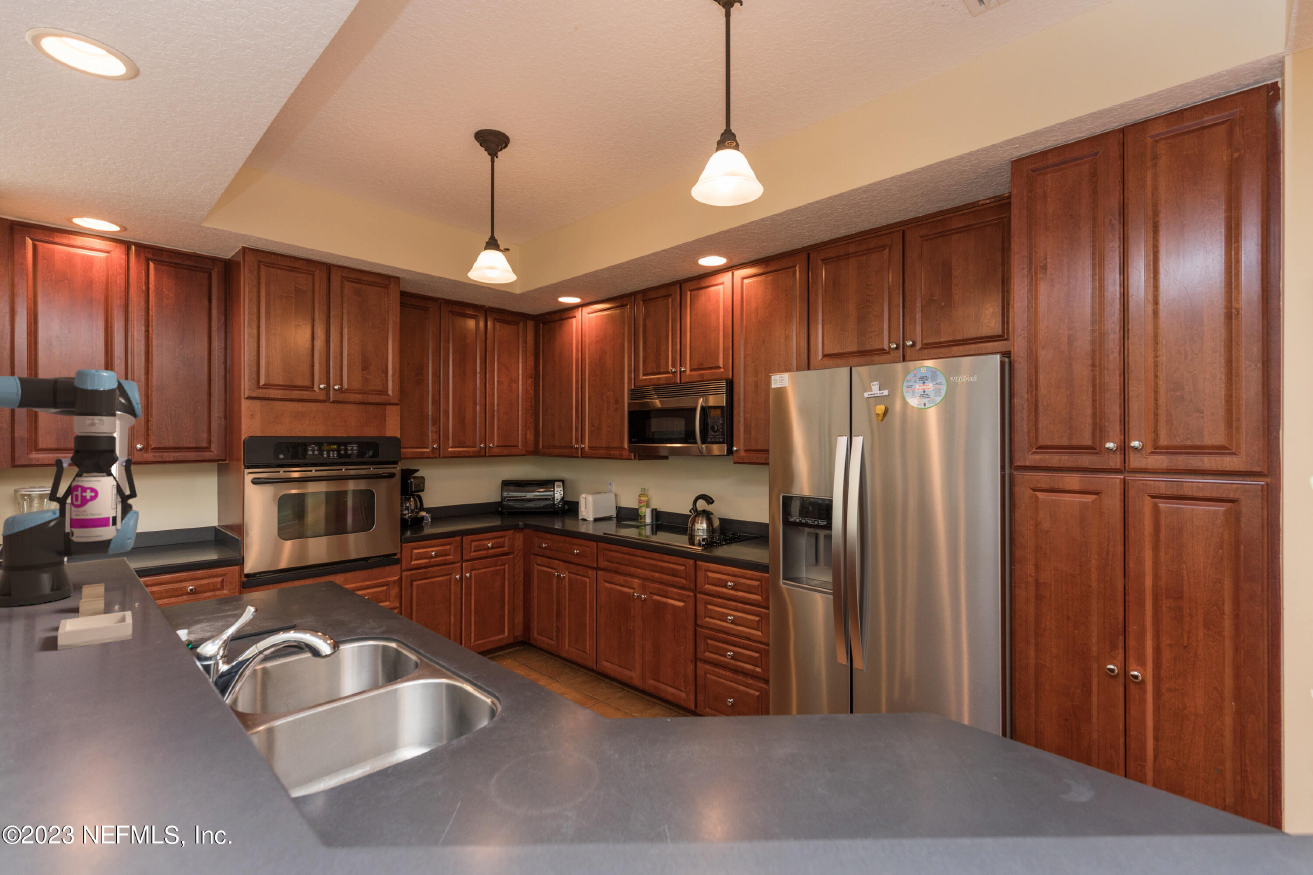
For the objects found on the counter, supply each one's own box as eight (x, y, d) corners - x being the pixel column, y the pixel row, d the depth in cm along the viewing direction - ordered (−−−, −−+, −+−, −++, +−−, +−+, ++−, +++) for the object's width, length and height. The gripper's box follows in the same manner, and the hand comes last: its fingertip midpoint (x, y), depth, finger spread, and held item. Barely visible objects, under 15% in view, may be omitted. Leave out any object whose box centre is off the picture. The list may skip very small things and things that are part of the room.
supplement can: (94, 542, 144) (95, 477, 144) (60, 541, 144) (61, 477, 144) (125, 536, 152) (126, 475, 152) (92, 536, 152) (93, 475, 152)
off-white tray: (61, 636, 134) (61, 619, 134) (130, 626, 142) (130, 610, 142) (57, 650, 125) (57, 632, 125) (131, 638, 133) (132, 622, 133)
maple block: (82, 609, 154) (82, 585, 154) (104, 606, 157) (104, 583, 157) (81, 613, 151) (82, 588, 151) (103, 610, 154) (104, 586, 154)
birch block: (79, 626, 141) (80, 600, 141) (103, 623, 144) (103, 597, 144) (78, 630, 138) (79, 603, 138) (103, 627, 141) (103, 601, 141)
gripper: (31, 433, 138) (29, 535, 138) (152, 435, 152) (151, 527, 152) (34, 433, 144) (32, 531, 144) (151, 435, 157) (150, 524, 157)
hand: (93, 529), depth 148 cm, fingers closed on supplement can, 8 cm apart
